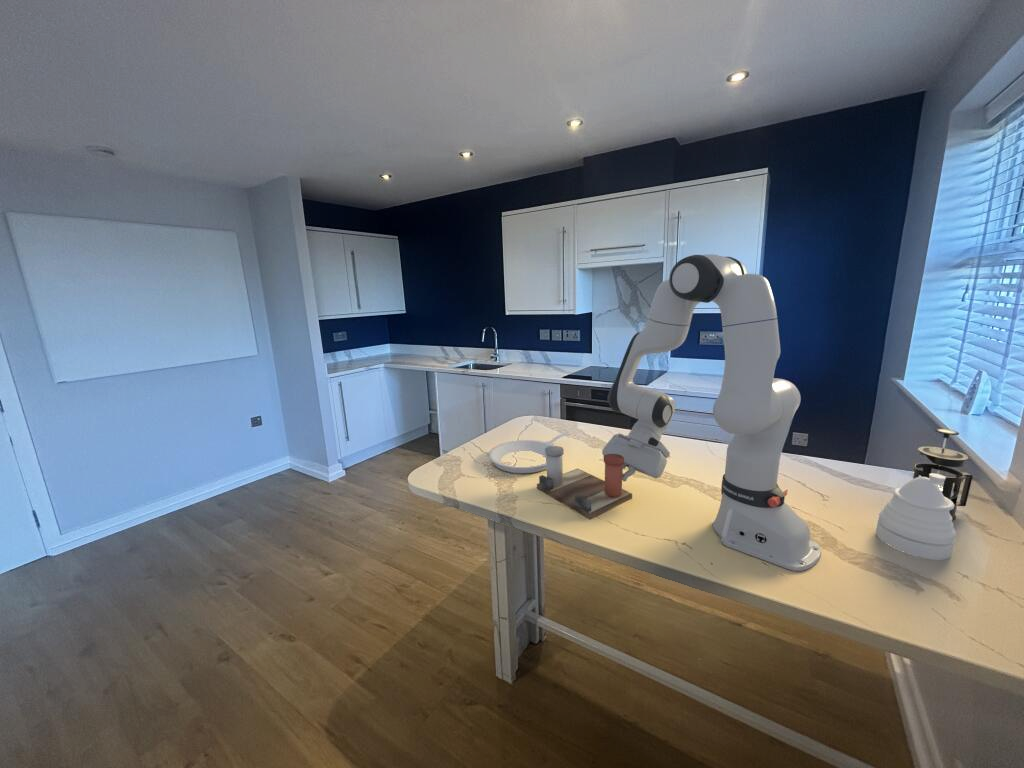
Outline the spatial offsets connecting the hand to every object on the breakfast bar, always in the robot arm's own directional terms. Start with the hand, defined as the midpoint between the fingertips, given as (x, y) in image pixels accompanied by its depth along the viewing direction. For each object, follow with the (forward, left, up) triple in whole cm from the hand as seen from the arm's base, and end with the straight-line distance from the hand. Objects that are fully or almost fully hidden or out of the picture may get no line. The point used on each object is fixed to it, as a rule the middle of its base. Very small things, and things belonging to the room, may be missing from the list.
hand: (620, 479), depth 121 cm
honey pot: (-58, -35, -6) cm, 68 cm away
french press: (-58, -56, -6) cm, 81 cm away
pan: (+40, +1, -6) cm, 40 cm away
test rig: (+8, +8, -5) cm, 12 cm away
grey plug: (+16, +12, -3) cm, 20 cm away
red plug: (0, +3, -3) cm, 5 cm away
